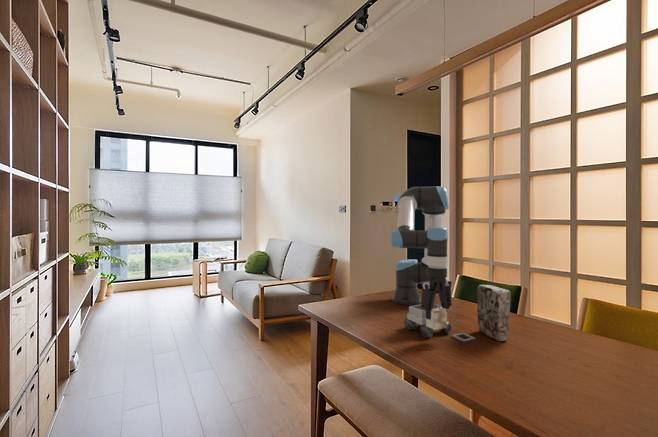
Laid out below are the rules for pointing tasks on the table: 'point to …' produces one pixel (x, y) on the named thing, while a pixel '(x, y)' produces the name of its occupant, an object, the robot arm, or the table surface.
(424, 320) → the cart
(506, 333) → the stone block
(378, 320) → the table surface
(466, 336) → the collar
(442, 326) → the block
